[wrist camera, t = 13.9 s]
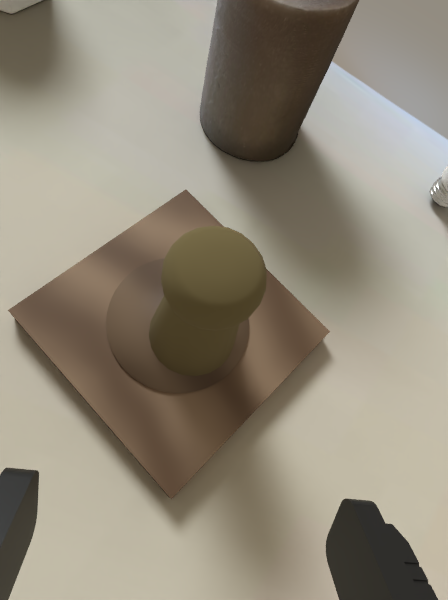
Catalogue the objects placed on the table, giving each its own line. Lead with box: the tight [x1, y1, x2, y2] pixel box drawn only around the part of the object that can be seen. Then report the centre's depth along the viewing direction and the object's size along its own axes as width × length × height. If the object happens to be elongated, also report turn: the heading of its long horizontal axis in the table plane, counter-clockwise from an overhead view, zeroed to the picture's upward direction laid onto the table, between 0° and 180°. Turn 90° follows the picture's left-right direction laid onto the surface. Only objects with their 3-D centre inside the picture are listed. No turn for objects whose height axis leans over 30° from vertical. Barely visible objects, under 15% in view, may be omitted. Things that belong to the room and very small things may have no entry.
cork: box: [149, 226, 267, 376], centre depth 24 cm, size 6×6×11 cm
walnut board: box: [8, 190, 330, 499], centre depth 30 cm, size 16×16×2 cm
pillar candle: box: [200, 0, 359, 161], centre depth 33 cm, size 10×10×15 cm
